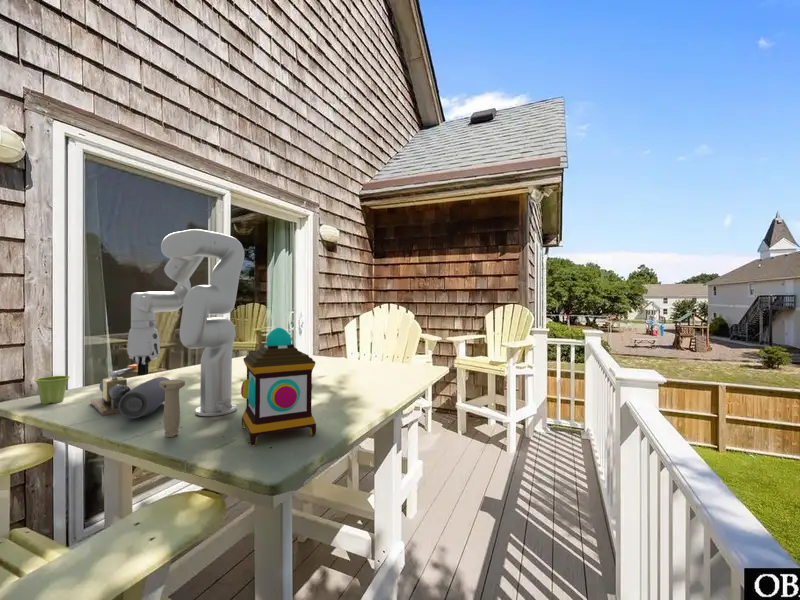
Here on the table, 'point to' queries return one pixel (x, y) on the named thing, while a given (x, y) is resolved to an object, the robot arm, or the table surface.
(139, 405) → the bluetooth speaker
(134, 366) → the lever
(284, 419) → the decorative lantern
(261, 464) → the table surface
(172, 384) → the handle
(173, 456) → the table surface
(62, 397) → the plant pot
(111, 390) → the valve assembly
